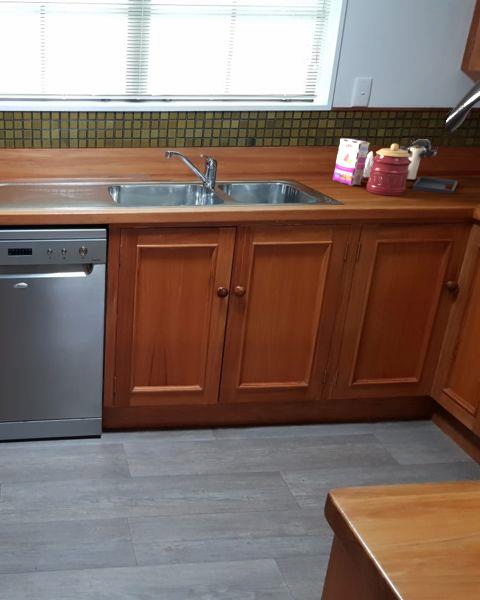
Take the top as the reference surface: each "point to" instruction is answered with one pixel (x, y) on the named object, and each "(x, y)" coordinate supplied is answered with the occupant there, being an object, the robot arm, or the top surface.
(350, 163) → the candy bar box
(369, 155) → the shaker set
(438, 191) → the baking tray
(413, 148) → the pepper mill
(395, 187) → the kitchen canister
